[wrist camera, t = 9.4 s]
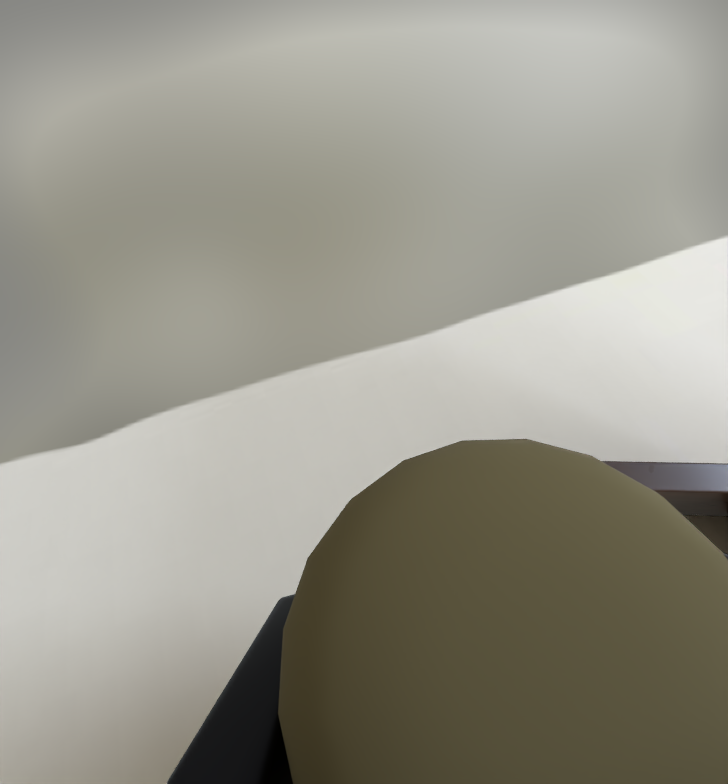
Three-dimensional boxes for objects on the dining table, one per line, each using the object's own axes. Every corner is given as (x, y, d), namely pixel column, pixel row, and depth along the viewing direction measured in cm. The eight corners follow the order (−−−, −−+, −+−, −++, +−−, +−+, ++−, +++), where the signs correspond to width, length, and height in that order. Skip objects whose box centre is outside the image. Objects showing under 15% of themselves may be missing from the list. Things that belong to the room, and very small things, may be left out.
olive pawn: (295, 610, 14) (108, 519, 5) (469, 513, 16) (600, 281, 6) (396, 852, 12) (432, 1734, 2) (596, 714, 13) (1211, 890, 3)
